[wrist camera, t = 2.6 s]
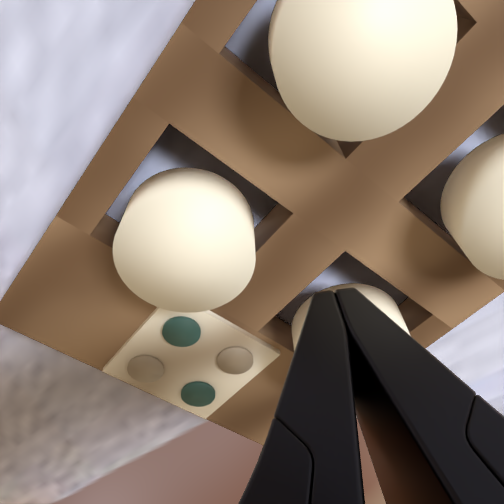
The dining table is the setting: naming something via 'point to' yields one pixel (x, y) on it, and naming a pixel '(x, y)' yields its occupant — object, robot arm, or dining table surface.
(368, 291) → the button
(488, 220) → the button
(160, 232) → the button
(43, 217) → the dining table surface
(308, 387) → the robot arm
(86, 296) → the board
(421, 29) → the button
